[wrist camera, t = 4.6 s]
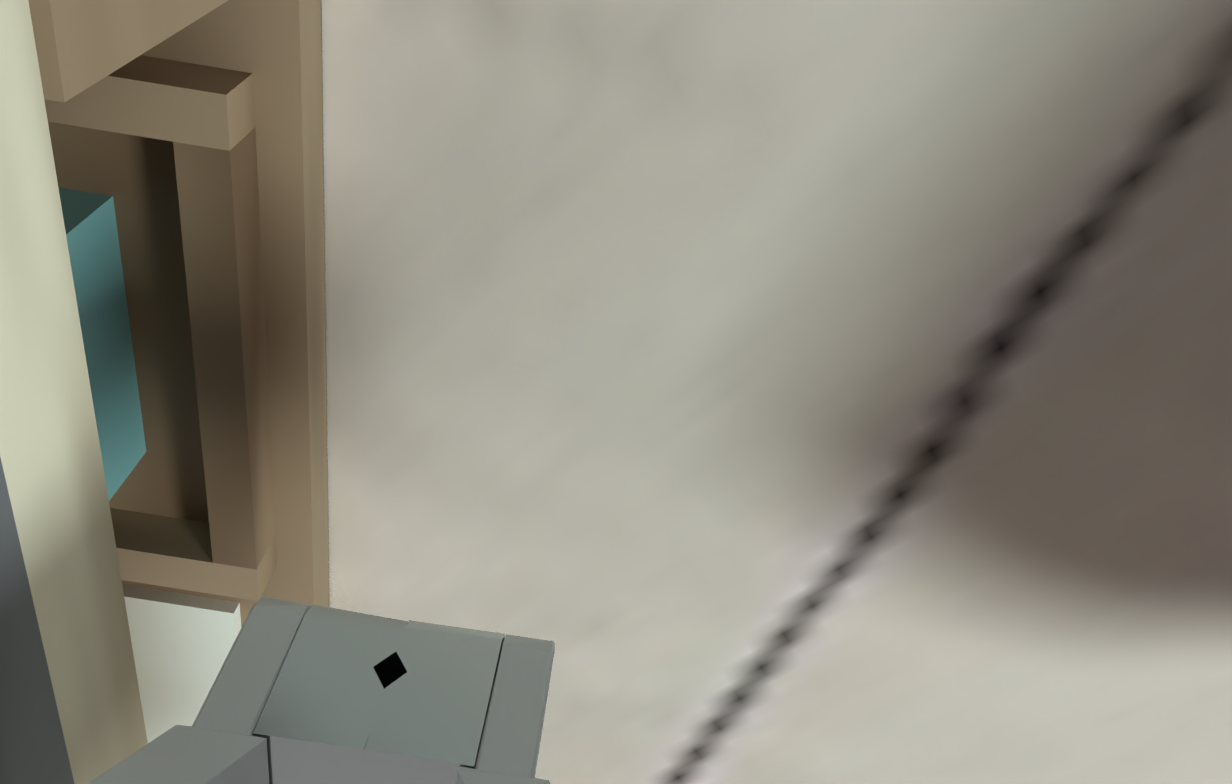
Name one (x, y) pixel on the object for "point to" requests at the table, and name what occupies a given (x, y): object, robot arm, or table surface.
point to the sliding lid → (51, 476)
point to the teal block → (105, 330)
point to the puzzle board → (207, 306)
